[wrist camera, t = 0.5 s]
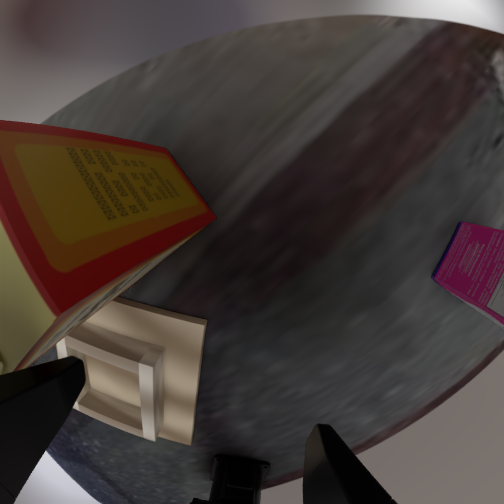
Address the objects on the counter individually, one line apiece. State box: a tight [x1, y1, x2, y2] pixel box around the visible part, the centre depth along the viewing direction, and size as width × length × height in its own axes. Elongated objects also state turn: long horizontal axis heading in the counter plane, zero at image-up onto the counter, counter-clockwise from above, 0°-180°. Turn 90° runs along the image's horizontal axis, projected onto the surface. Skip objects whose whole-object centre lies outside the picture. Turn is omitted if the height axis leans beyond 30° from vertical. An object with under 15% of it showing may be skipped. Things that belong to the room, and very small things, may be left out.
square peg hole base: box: [56, 296, 207, 445], centre depth 22 cm, size 16×16×4 cm
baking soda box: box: [0, 120, 216, 375], centre depth 13 cm, size 10×6×16 cm
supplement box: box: [432, 221, 504, 329], centre depth 14 cm, size 6×6×12 cm
